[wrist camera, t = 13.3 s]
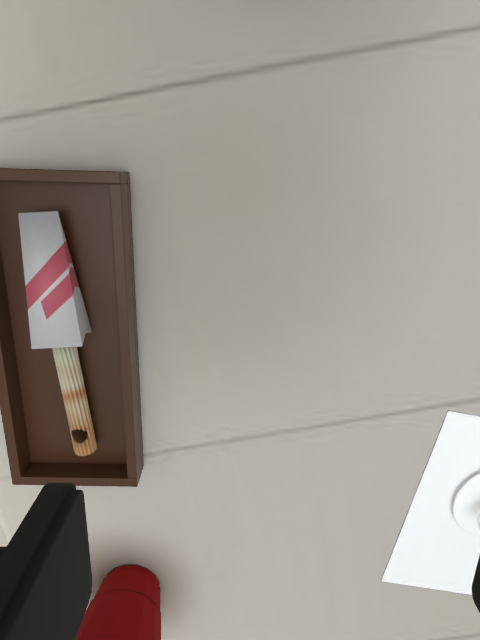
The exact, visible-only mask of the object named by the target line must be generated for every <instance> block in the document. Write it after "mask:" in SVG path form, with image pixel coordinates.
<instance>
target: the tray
mask: <svg viewBox="0 0 480 640" xmlns="http://www.w3.org/2000/svg"><path fill="white" fill-rule="evenodd" d="M51 211H58V214H59V217H60V221H61V224H62V228H63V231H64V235H65V238H66V242H67V245H68V249H69V252H70V256H71V259H72V263H73V266H74V270H75V273H76V277H77V281H78V284H79V288H80V291H81V295H82V298H83V302H84V305H85V309H86V312H87V316H88V319H89V323H90V326H91V330H92V333H86V334H85V338H84V342H83V346H81V347H77V350H78V355H79V360H80V365H81V370H82V375H83V380H84V385H85V390H86V395H87V400H88V405H89V410H90V415H91V420H92V424H93V429H94V434H95V439H96V443H97V448H96V450H95V451H94V452H93V453H91V454H90V455H87V456H78V455H76V454H75V452H74V448H73V443H72V438H71V433H70V428H69V423H68V418H67V414H66V409H65V405H64V400H63V396H62V391H61V387H60V382H59V378H58V373H57V368H56V364H55V359H54V355H53V350H52V348H42V349H32V348H31V338H30V328H29V318H28V307H27V297H26V287H25V277H24V267H23V257H22V246H21V236H20V226H19V216H18V213H33V212H51ZM0 408H1V415H2V421H3V427H4V433H5V439H6V446H7V452H8V458H9V464H10V471H11V476H12V483H13V484H15V485H45V484H47V483H74V484H75V486H132V487H137V485H138V482H139V479H140V476H141V473H142V469H143V447H142V426H141V405H140V384H139V364H138V343H137V322H136V301H135V281H134V260H133V239H132V218H131V197H130V177H129V172H112V171H78V170H44V169H10V168H0ZM77 431H78V429H77ZM80 431H81V432H83V431H84V430H82V429H80ZM85 432H87V431H85Z"/></svg>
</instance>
